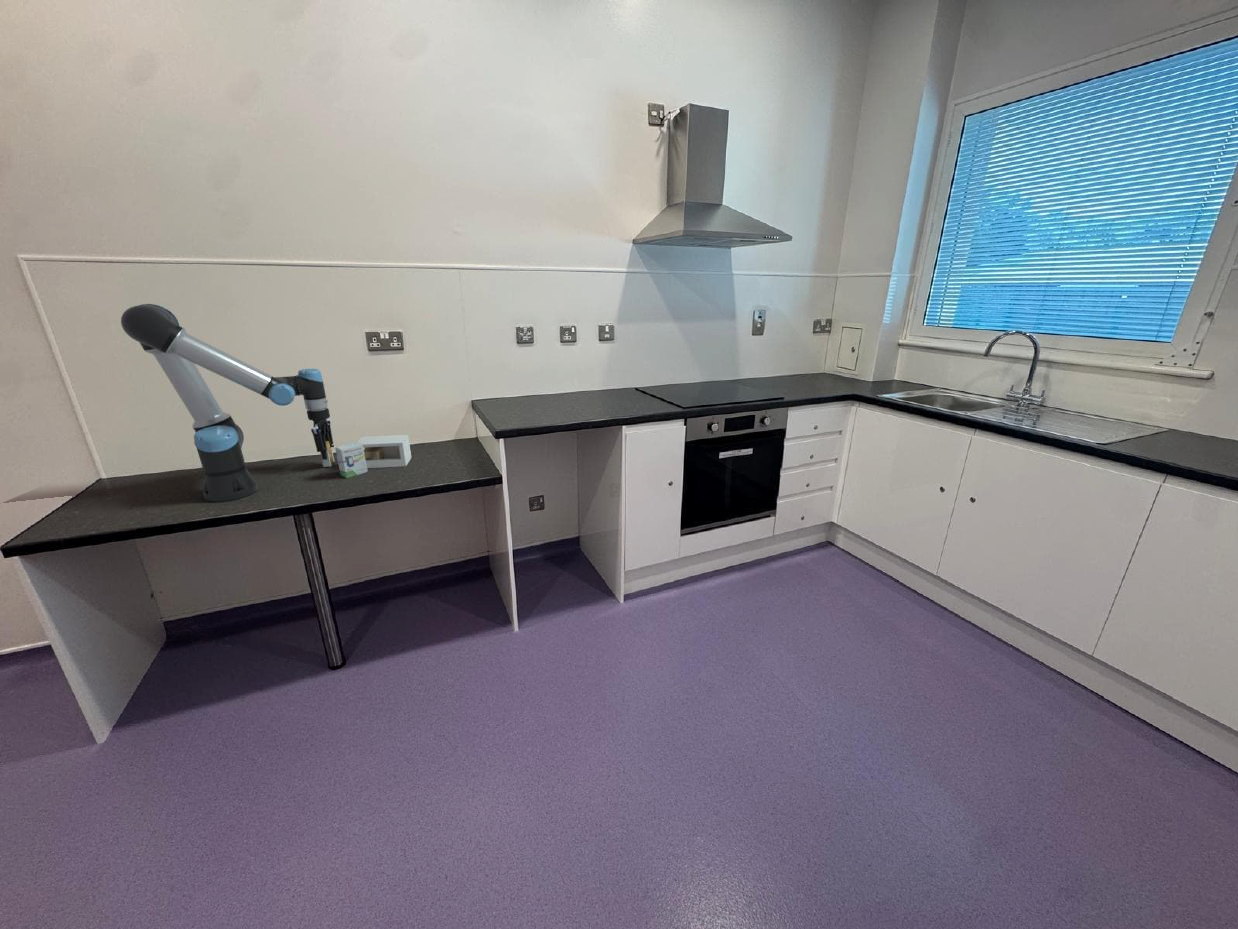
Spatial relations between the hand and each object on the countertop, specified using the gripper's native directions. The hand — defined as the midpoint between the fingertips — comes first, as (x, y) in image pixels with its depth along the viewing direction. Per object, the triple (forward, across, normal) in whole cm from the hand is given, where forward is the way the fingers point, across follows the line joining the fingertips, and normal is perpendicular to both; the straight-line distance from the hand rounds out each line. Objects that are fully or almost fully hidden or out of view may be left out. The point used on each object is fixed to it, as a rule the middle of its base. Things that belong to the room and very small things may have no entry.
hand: (329, 464), depth 202 cm
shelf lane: (+1, 0, -21) cm, 21 cm away
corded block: (0, 0, -9) cm, 9 cm away
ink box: (+1, -11, -13) cm, 17 cm away
